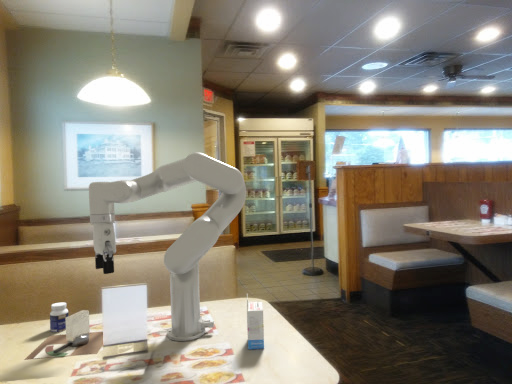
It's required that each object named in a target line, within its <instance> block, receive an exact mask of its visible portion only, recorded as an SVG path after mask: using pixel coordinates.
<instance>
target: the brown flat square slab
mask: <svg viewBox="0 0 512 384" xmlns="http://www.w3.org/2000/svg"><path fill="white" fill-rule="evenodd" d="M88 334H89V342H88V343H86V344H84V345H81V346H77V347H70V346H69V347H67V348H65V349H63V350H61V351H60V352H58V353H53V351H54V350H56V349H58V348H60V347H62V346H64V345H65V344H67V343H68V341H67V340H66V333H65V334H55V335H54V334H53V335H49V336H48V337H47V338H46V339H44V340H43V342H41V343H40V344H39V345H38V346H37V347H36V348H35V349H34V350H33V351H32V352H30V354H28V355H27V356H26V357H25V358H24V359H23V360H24V361H26V360H28V361H29V360H38V359H51V358H65V357H72V356H86V355H97V354H98V353H99V351H100V350H101V349H102V347H103V345H104V344H103V331H93V332H92V331H91V332H89V333H88Z"/></svg>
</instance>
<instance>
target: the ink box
mask: <svg viewBox="0 0 512 384" xmlns="http://www.w3.org/2000/svg"><path fill="white" fill-rule="evenodd" d="M248 296H249V295H248V293H246V325H247V326H246V327H247V343H248V344H247V346H248V350H261V349H262V350H264V349H265V333H264V330H265V329H264V327H265V326H264V307H263V302H262V301H256V302H255V301H254V302H253V301H252V302H249V301H248V300H249V299H248Z"/></svg>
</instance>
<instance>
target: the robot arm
mask: <svg viewBox="0 0 512 384" xmlns="http://www.w3.org/2000/svg"><path fill="white" fill-rule="evenodd" d="M196 182H199V183H201V184H203V185H206V186H208V187H210V188H213V189H214V190H217V191H219V192H221V194H220V196H219V197H218V198H217V199H216V201H214V203H212V204H211V206H210V207H209V208H208V209H207V210H206V211H205V212H204V213H203V214H202V215H201V216H199V217H198V218H197V219H195V220H194V221H193V222H192V223H191V224H190V225H189V226H188V227H187V228H186V229H185V230H184V231H183V232H182V233H181V234H180V235H179V237H178V238H177V239H176V240H175V241H174V242H172V244H171V245H170V246H169V247H168V248H167V249H166V251H165V253H164V256H163V264H164V267H165V268H166V270H167V271H168V272H169V284H170V285H169V286H170V287H169V288H170V290H169V291H170V294H169V295H170V318H171V327H170V328H168V330H167V332H166V336H167V338H168V339H170V340H172V341H176V342H185V341H187V342H188V341H191V340H192V341H193V340H196V339H198V338H201V337H202V336H203V335H205V333H206V328H207V329H208V328H209V329H210V328H215V321H212V320H211V319H205V320H204V319H202V315H201V304H200V303H201V301H200V298H201V297H200V260H201V259H202V258H203V257H204V256H205V255H206V254H207V253H208V252H209V251H210V250H211V249H212V248H213V246H214V245H216V243H217V242H218V240H219V237H220V236H221V234H222V232H223V231H224V230H225V229H226V228H227V227H228V226H229V225H230V224H231V223H232V221H233V220H234V219H235V218H236V217H237V216H238V214H239V213H241V210H242V209H243V207H244V206H245V203H246V199H247V187H246V186H247V185H246V183H245V179H244V176H243V173H242V172H241V171H240V170H239V169H238V168H236V167H233V166H231V165H230V164H227V163H224V162H222V161H220V160H217V159H215V158H213V157H211V156H208V155H207V154H205V153H204V152H203V153H202V152H199V151H196V152H192V153H190V154H188V155H187V156H186V157H184V158H182V159H179V160H175V161H172V162H169V163H166V164H163V165H160V166H158V167H157V168H156V169H155V170H154V171H152V172H151V173H148V174H146V175H143V176H140V177H138V178H134V179H129V180H127V179H126V180H125V179H122V180H116V181H93V182H90V183H89V185H88V199H89V200H88V201H89V224H90V225H91V226H92V225H93V228H92V229H93V232H92V236H93V239H92V240H93V250H94V252H95V253H94V256H95V258H94V259H95V260H94V261H95V262H94V263H95V269H96V270H99V269H102V270H103V271H102V272H103V273H102V274H103V275H109V274H113V273H114V272H115V261H114V260H115V259H114V256H115V254H116V252H117V244H116V243H117V242H116V233H115V232H116V231H115V227H114V224H115V223H116V222H115V221H116V220H115V219H116V217H115V216H116V215H115V204H128V203H134V202H137V201H140V200H144V199H145V198H150V197H152V196H156V195H158V194H160V193H161V194H162V193H166V192H169V191H171V190H174V189H177V188H180V187H183V186H186V185H189V184H192V183H196Z"/></svg>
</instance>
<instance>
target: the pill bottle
mask: <svg viewBox="0 0 512 384" xmlns="http://www.w3.org/2000/svg"><path fill="white" fill-rule="evenodd" d="M50 309H51V311H50V313H49V328H50V329H49V330H50V331H49V332H51V333H60V332H64V331H65V332H66V320H65V318H66V317H68V316H69V310H68V308H67V302H65V301H64V302H62V301H61V302H56V303H52V304H51V308H50Z"/></svg>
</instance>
